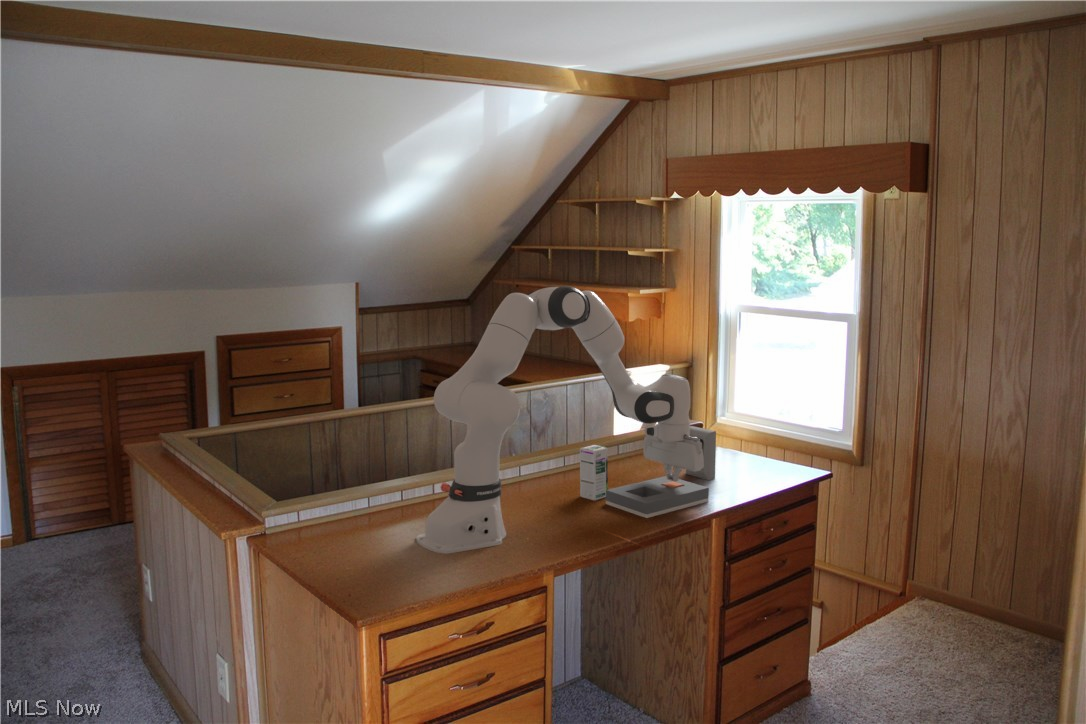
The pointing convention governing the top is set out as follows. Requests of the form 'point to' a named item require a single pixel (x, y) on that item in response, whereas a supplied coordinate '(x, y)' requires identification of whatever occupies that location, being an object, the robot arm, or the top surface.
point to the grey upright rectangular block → (705, 452)
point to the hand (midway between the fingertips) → (672, 480)
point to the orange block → (672, 484)
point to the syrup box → (593, 472)
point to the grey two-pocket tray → (656, 497)
